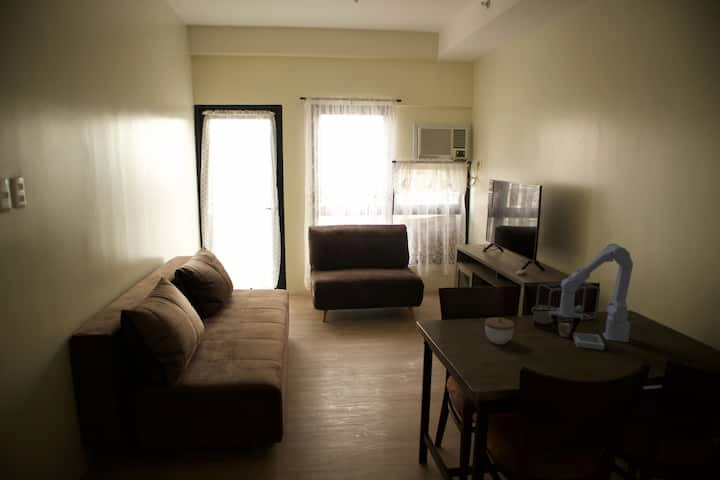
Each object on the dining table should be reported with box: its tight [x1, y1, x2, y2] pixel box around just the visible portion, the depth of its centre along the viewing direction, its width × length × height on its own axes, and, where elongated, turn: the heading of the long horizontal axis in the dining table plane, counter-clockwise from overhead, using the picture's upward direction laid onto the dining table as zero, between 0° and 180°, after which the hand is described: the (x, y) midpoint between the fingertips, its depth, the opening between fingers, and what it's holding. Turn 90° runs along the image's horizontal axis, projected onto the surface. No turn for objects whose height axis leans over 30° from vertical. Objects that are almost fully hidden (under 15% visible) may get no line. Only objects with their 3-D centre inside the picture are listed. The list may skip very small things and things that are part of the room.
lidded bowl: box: [484, 317, 515, 345], centre depth 215 cm, size 13×13×11 cm
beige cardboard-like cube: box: [558, 322, 571, 338], centre depth 225 cm, size 4×5×5 cm
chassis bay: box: [571, 331, 605, 351], centre depth 216 cm, size 11×12×2 cm
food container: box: [531, 304, 558, 329], centre depth 236 cm, size 12×6×10 cm, turn 84°
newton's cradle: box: [535, 280, 601, 323], centre depth 247 cm, size 30×10×18 cm, turn 105°
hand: (564, 331), depth 226 cm, fingers open, 7 cm apart
